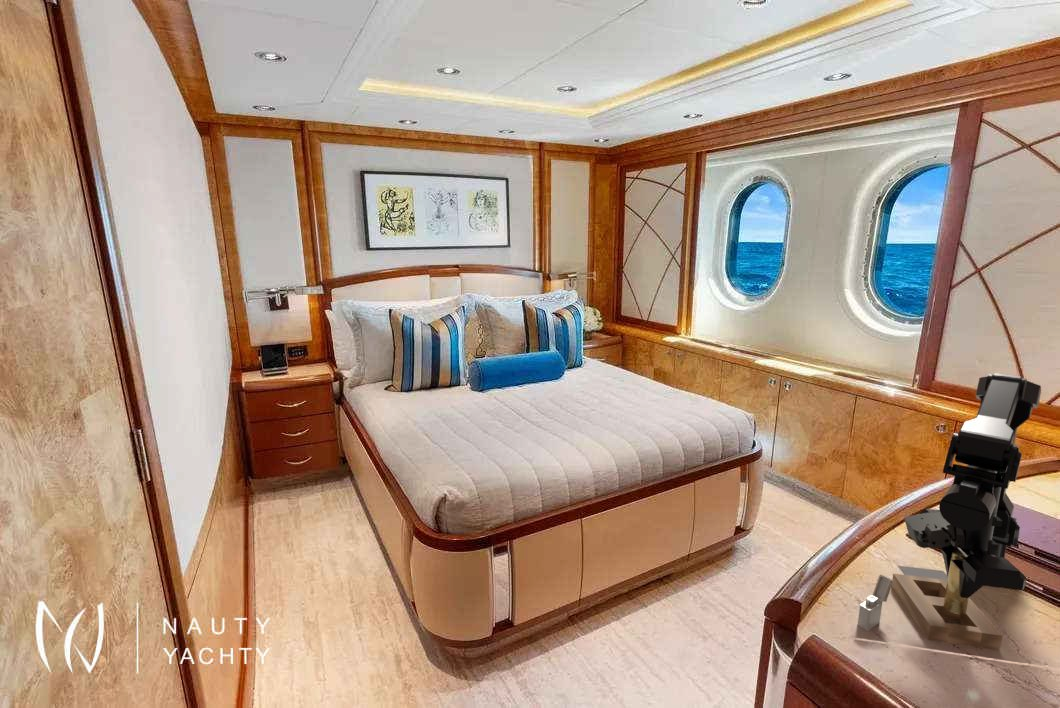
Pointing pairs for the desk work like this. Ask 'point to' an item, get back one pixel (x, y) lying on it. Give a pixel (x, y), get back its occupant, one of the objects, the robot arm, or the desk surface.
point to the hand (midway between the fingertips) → (958, 590)
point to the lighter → (874, 604)
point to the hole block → (944, 614)
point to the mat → (924, 572)
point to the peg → (955, 588)
